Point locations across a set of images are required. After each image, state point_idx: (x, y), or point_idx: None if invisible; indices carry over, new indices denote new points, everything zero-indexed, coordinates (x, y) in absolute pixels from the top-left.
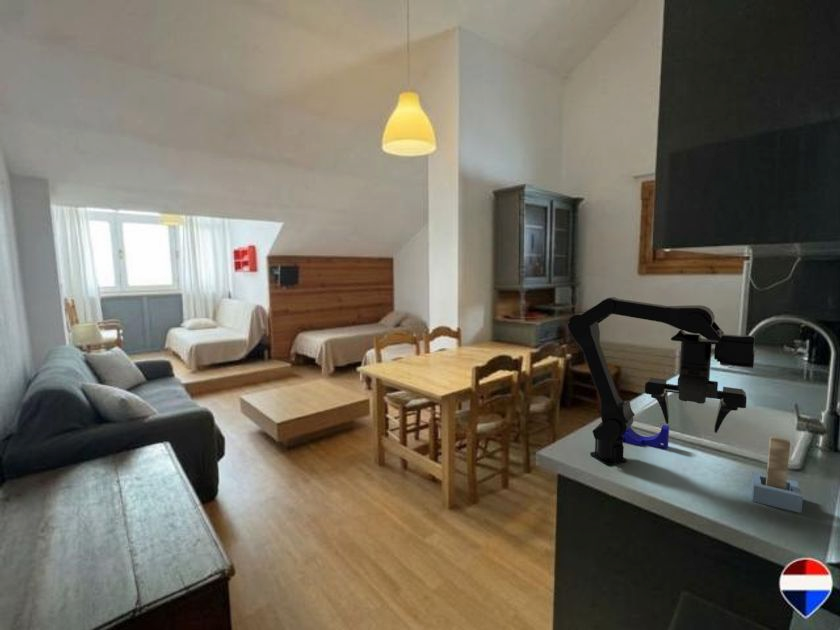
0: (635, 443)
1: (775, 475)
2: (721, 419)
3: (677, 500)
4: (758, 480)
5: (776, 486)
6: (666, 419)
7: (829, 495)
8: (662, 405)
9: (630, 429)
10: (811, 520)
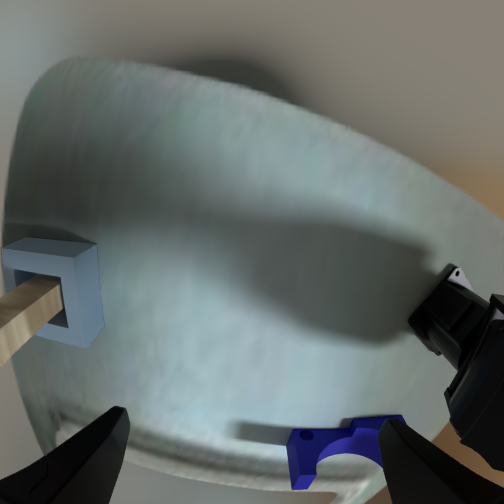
0: (366, 420)
1: (22, 299)
2: (49, 463)
3: (288, 135)
4: (67, 300)
5: (37, 285)
6: (409, 433)
7: None
8: (482, 488)
9: (376, 455)
10: (16, 215)
